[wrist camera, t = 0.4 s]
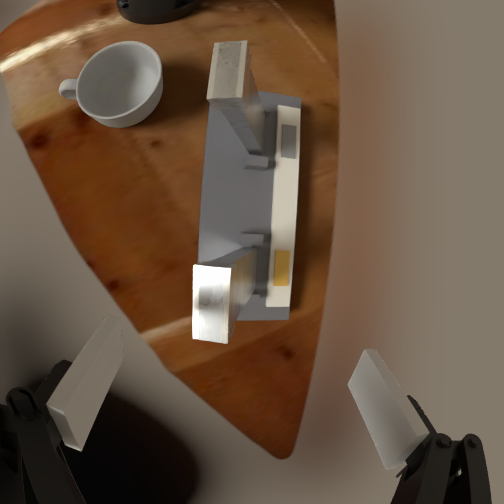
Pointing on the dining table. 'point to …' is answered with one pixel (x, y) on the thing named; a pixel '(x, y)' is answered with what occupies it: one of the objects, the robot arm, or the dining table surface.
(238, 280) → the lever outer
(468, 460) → the robot arm
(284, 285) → the grey stand base
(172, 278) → the dining table surface
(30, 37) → the dining table surface
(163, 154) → the dining table surface
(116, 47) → the teacup
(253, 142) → the lever inner
